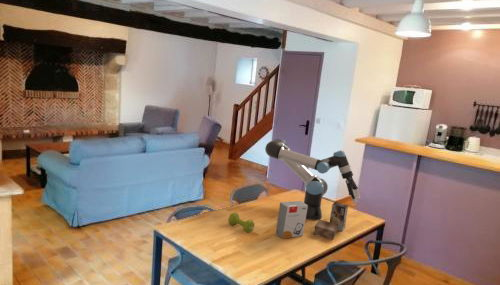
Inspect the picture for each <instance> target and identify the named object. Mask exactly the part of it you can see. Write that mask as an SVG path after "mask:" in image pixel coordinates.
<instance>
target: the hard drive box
mask: <svg viewBox="0 0 500 285" xmlns="http://www.w3.org/2000/svg"><path fill="white" fill-rule="evenodd" d="M307 208H308V205H307V204H305V203H304V201H302V200H295V201H294V200H293V201H281V202H279V208H278V215H277V220H276V228H275V234H276V235H277V236H278V237H280V239H289V238H294V237H295V238H296V237H303V235H304V230H305V225H306V220H307V218H306V214H307Z"/></svg>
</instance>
